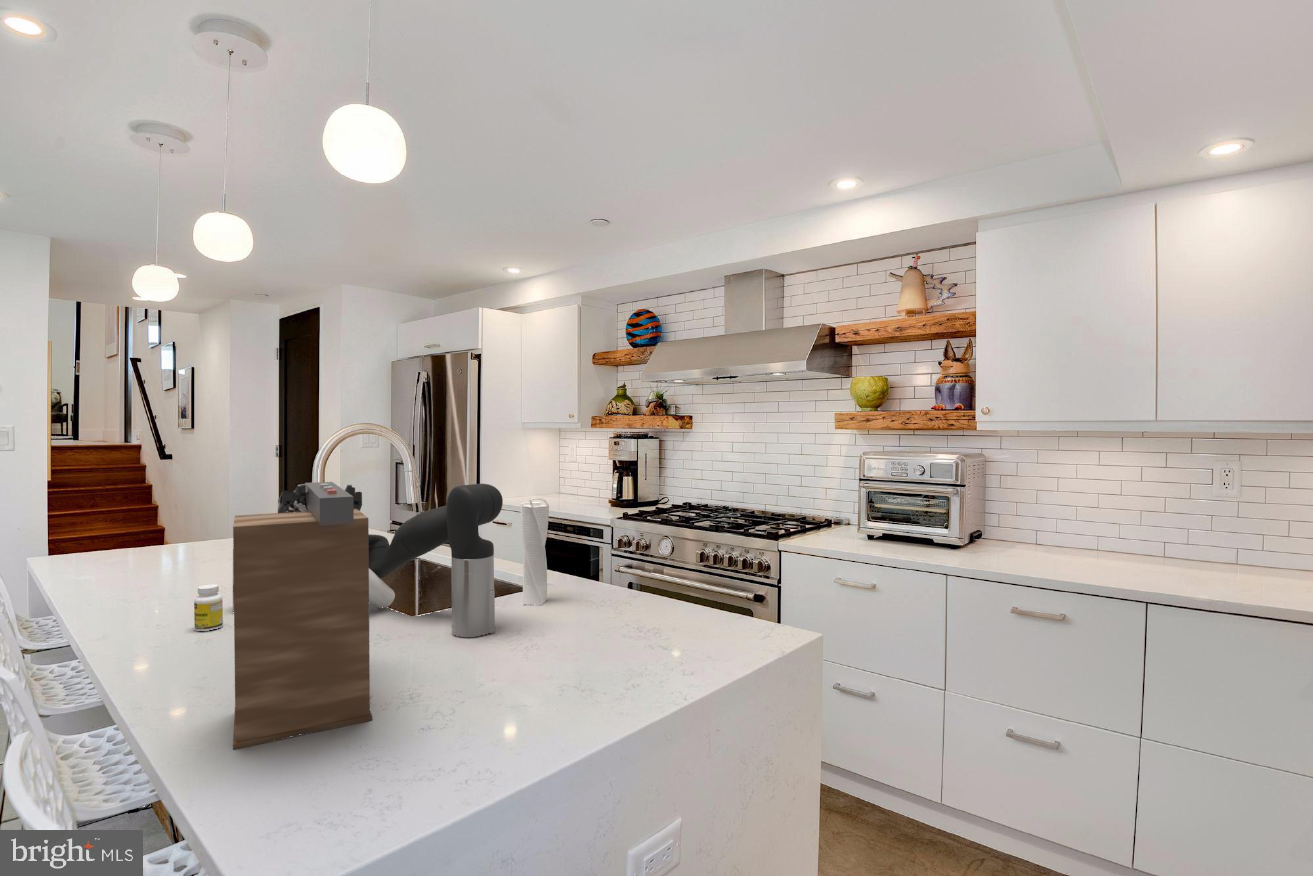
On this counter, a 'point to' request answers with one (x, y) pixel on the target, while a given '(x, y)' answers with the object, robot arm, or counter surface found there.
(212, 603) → the supplement bottle
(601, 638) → the counter surface
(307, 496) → the power strip
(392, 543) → the robot arm
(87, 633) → the counter surface
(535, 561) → the twisted white column
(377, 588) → the drinking glass
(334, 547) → the brown tall block
